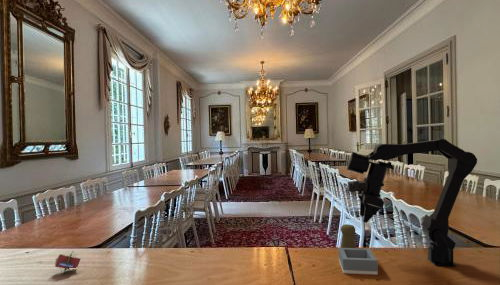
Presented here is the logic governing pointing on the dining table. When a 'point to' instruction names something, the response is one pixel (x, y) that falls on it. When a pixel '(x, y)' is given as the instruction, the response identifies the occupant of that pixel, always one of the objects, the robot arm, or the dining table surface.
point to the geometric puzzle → (67, 261)
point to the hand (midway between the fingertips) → (363, 219)
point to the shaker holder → (358, 261)
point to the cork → (348, 236)
